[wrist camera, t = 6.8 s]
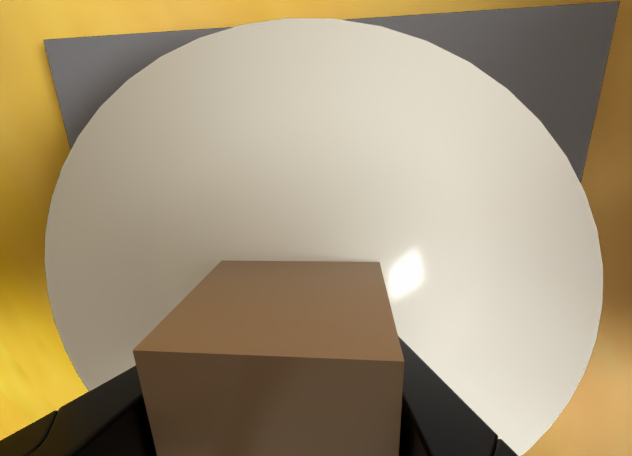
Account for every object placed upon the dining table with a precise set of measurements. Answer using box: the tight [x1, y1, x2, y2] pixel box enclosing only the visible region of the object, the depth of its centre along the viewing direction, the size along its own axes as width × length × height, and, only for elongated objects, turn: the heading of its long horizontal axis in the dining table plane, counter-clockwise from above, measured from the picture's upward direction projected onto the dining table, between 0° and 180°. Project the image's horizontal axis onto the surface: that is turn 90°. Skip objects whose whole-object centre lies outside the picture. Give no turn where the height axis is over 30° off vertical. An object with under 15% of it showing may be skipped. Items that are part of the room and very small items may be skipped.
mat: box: [44, 1, 620, 456], centre depth 11 cm, size 16×16×1 cm
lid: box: [45, 18, 603, 456], centre depth 7 cm, size 15×15×5 cm
